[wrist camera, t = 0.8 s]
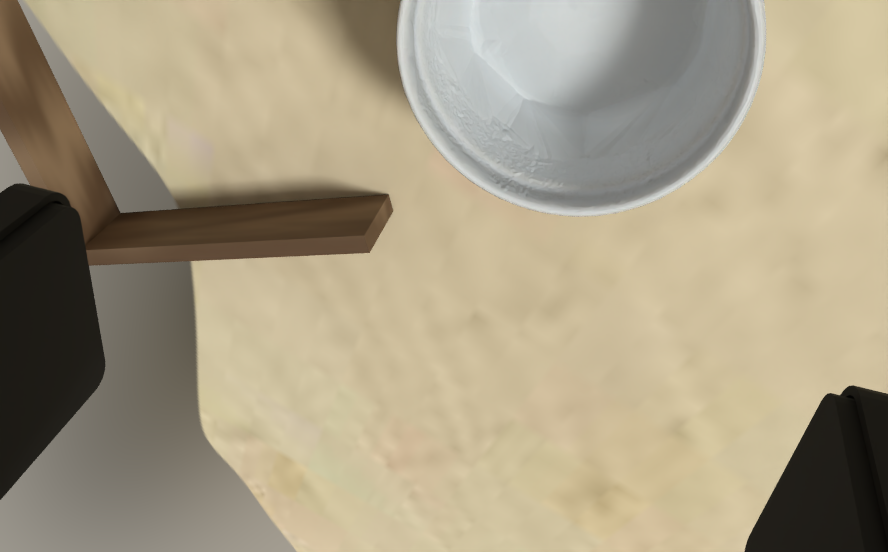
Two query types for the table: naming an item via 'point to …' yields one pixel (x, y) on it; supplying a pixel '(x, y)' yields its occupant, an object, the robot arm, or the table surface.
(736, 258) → the table surface
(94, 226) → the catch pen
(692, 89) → the ramekin
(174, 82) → the table surface
